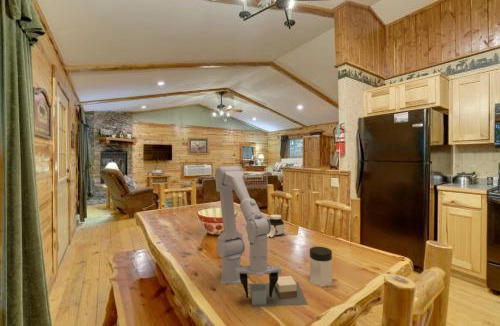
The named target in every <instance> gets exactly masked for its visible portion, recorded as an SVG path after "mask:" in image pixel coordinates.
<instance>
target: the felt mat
mask: <svg viewBox="0 0 500 326" xmlns="http://www.w3.org/2000/svg"><path fill="white" fill-rule="evenodd" d="M295 283H296V284H297V297H292V298H285V299H280V298H279V297H278V295H277V293H276V292H275V290H274V289H273V293H272V297H270V296H269V283H267V282H265V283H260V284H265V287H266V305H252V284H253V283H250V284H249V288H250V290H249V291H250V305H251V307H257V308H258V307H281V306H284V307H285V306H287V307H288V306H309V304H308V301H307V299H306V297H305V295H304V293H303V291H302V289H301V286H300V283H299V282H296V281H295Z"/></svg>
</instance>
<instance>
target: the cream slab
mask: <svg viewBox="0 0 500 326" xmlns="http://www.w3.org/2000/svg"><path fill="white" fill-rule="evenodd" d="M275 285H276V287H277V289H278V291H279V292H289V291H297V284H296V281H295V280H294V278H293V277H292V276H291V275H285V276H283V275H282V276H278V281H277V282H276V284H275Z"/></svg>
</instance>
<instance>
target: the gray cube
mask: <svg viewBox="0 0 500 326" xmlns="http://www.w3.org/2000/svg"><path fill="white" fill-rule="evenodd" d="M251 284H252V305H266V287H265V284H261V283H251ZM252 305H251V306H252Z"/></svg>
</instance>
